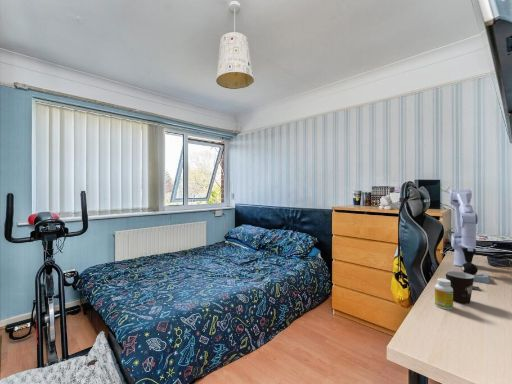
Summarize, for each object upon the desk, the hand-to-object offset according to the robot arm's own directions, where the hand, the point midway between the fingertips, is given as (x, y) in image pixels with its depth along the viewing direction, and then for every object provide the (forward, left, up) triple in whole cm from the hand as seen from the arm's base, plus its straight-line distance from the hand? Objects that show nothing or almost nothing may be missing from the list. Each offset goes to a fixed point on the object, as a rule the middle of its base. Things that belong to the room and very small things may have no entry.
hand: (468, 262), depth 130 cm
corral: (+10, 0, -5) cm, 12 cm away
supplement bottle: (+54, -13, -5) cm, 56 cm away
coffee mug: (+45, -9, -5) cm, 47 cm away
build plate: (+25, -4, -6) cm, 26 cm away
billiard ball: (+4, 0, -5) cm, 7 cm away
